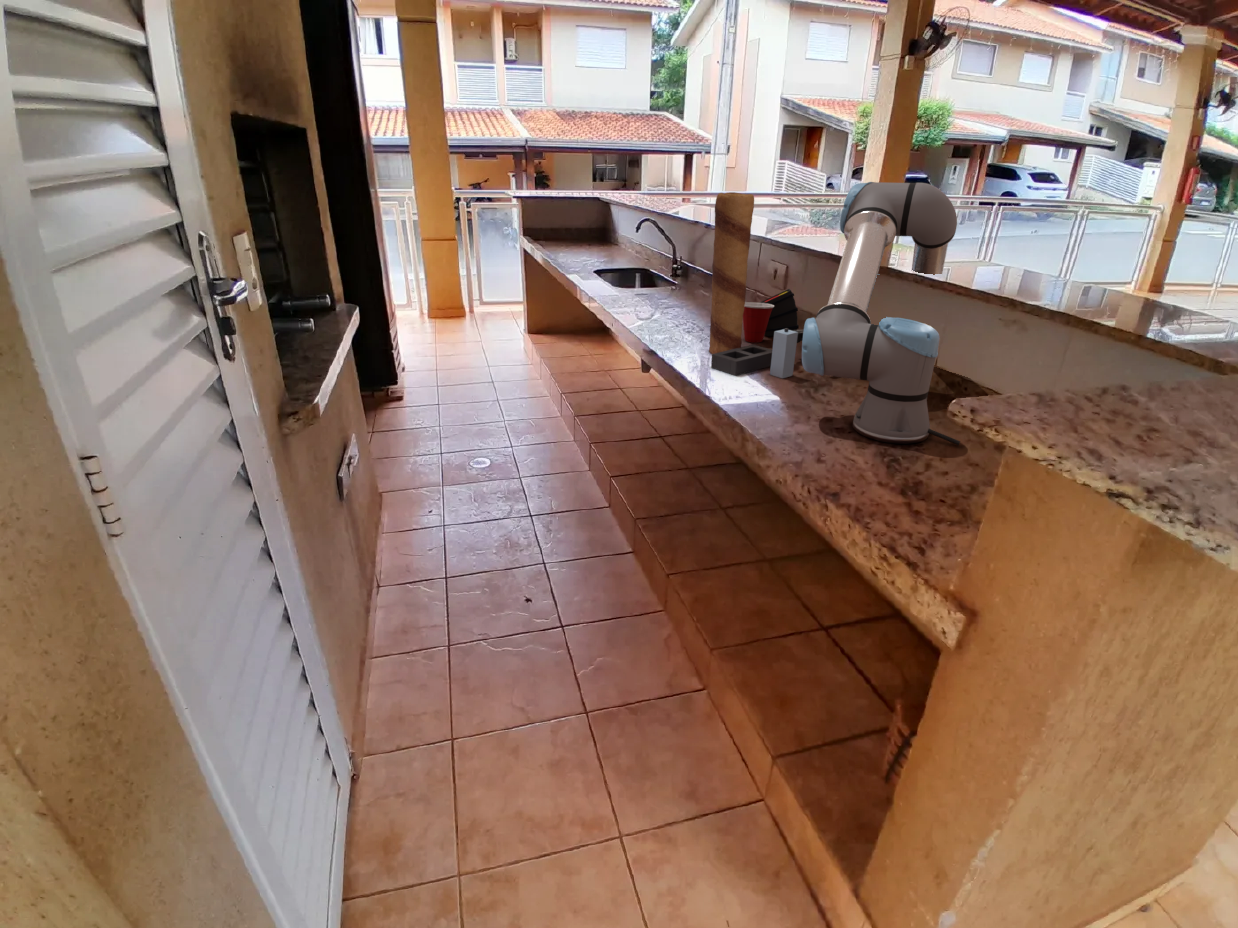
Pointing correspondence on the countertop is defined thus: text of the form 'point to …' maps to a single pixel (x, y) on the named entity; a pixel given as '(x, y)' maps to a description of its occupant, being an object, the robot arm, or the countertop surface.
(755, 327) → the plastic cup
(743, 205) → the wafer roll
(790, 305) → the magazine
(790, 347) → the grey rectangular block
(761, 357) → the cinder block
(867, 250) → the robot arm
